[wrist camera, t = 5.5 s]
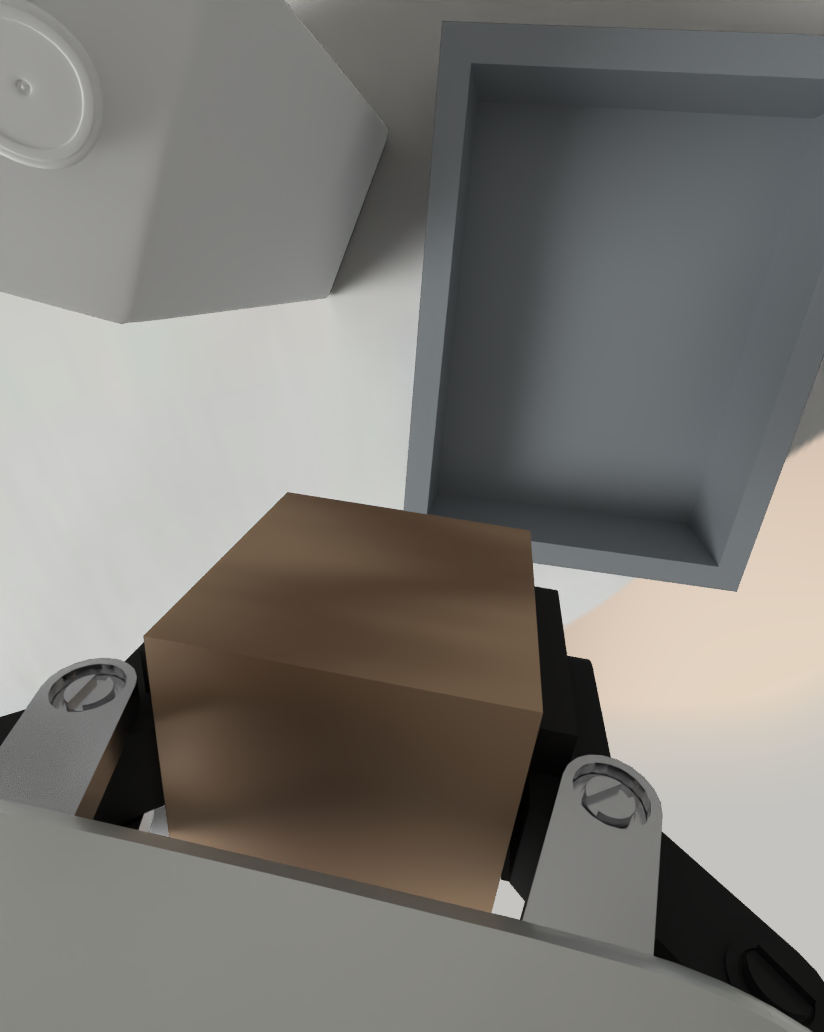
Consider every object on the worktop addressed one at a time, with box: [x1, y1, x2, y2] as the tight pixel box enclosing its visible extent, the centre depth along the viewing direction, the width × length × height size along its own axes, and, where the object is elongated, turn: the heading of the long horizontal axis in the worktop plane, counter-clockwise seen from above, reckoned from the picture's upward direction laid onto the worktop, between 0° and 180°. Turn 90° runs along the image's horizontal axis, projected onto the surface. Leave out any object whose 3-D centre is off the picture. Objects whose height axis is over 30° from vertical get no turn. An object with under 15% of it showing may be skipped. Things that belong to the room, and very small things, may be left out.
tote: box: [404, 21, 824, 592], centre depth 22 cm, size 14×18×5 cm
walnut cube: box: [144, 492, 543, 913], centre depth 10 cm, size 5×5×5 cm
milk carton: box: [0, 0, 388, 324], centre depth 15 cm, size 7×7×19 cm
